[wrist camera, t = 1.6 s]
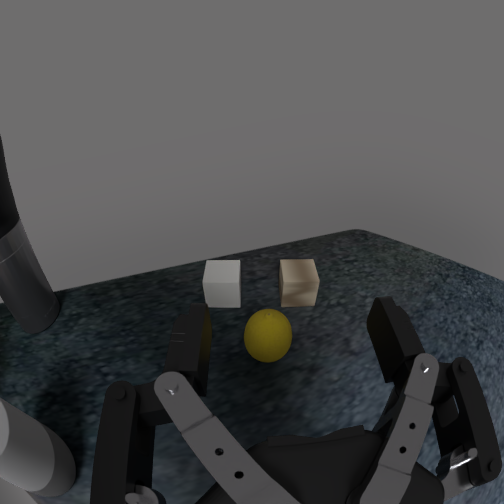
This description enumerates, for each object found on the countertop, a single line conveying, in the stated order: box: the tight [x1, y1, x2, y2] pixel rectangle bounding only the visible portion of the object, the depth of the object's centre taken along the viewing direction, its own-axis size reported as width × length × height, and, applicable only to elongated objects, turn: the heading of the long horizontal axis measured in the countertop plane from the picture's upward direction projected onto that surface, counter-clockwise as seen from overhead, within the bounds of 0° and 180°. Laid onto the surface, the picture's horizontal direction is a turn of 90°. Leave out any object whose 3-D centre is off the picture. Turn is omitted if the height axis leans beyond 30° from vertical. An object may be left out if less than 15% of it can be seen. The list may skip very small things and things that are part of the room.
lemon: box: [244, 309, 292, 362], centre depth 31 cm, size 6×6×8 cm
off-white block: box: [203, 260, 241, 307], centre depth 41 cm, size 5×5×5 cm
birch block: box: [279, 259, 319, 307], centre depth 41 cm, size 5×5×5 cm
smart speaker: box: [0, 398, 76, 497], centre depth 13 cm, size 10×9×14 cm
